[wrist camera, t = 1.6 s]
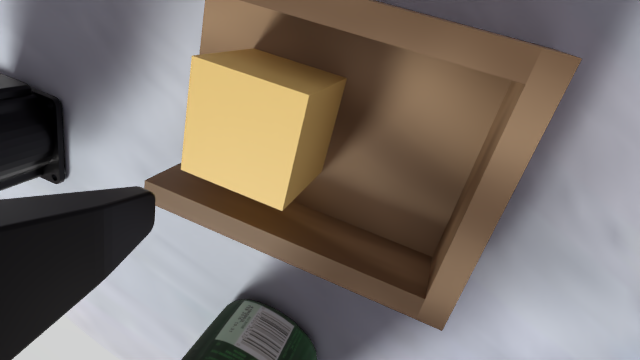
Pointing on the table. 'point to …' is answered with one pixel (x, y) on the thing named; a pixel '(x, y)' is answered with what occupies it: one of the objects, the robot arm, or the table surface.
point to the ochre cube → (259, 123)
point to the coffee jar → (252, 336)
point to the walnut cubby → (388, 146)
